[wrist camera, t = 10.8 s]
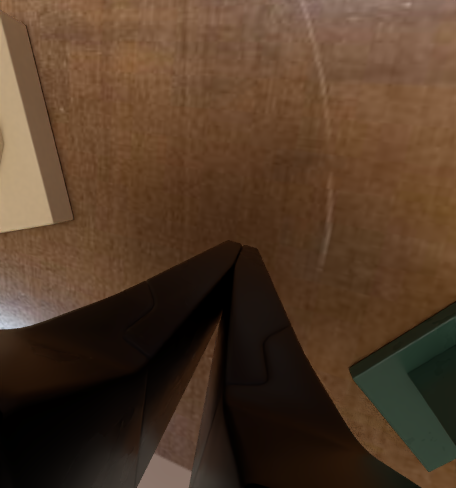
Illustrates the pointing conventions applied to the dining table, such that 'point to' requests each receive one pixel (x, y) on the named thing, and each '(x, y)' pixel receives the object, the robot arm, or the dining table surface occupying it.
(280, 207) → the dining table surface
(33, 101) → the button box
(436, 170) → the dining table surface
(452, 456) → the bracket
